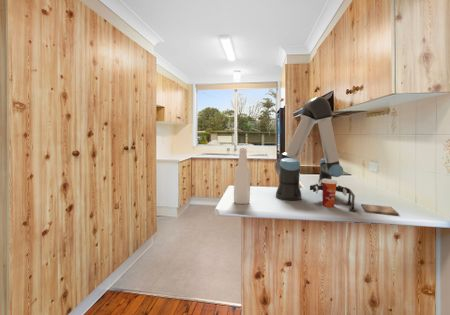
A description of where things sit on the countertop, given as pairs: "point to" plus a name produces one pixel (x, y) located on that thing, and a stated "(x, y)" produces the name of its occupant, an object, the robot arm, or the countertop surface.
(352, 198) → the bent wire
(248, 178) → the alcohol
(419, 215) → the countertop surface
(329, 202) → the paper cup
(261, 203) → the countertop surface
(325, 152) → the robot arm
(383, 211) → the walnut board
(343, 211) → the countertop surface
